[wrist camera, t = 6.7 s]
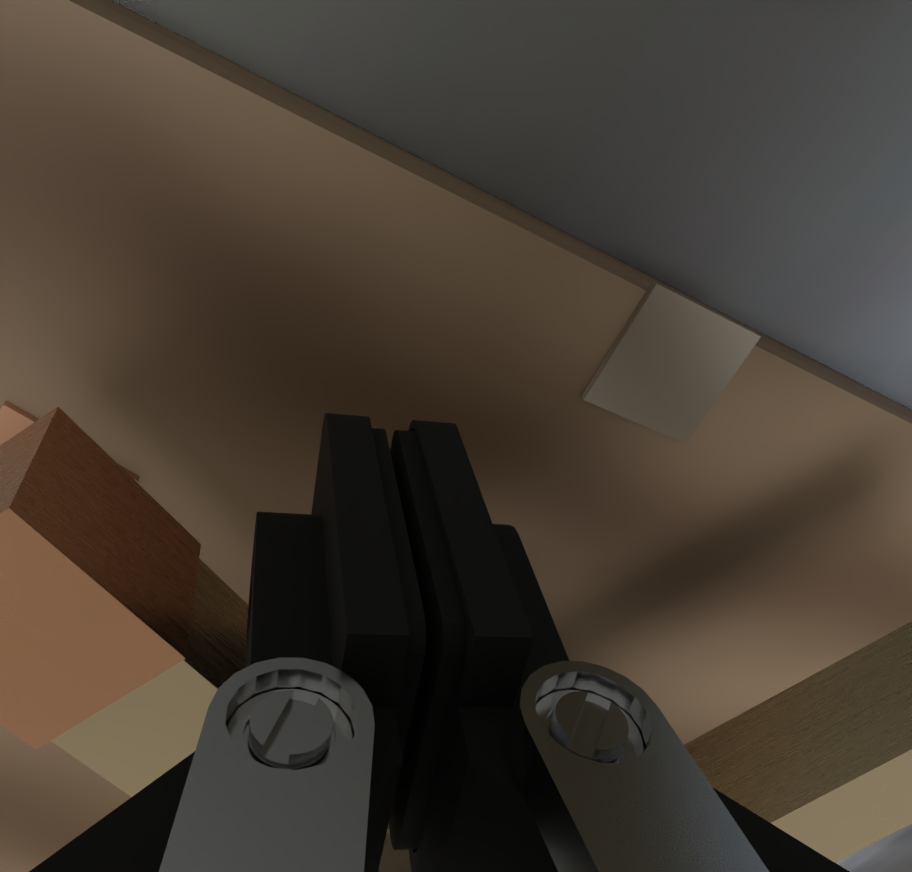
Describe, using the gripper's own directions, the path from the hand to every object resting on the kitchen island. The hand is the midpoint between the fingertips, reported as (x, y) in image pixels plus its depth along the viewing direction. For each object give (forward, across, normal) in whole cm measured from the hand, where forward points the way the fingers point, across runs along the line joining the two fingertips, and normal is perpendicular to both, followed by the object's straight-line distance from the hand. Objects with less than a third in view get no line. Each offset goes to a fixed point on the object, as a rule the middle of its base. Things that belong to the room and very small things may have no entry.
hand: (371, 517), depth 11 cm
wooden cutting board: (+6, -3, +8) cm, 10 cm away
